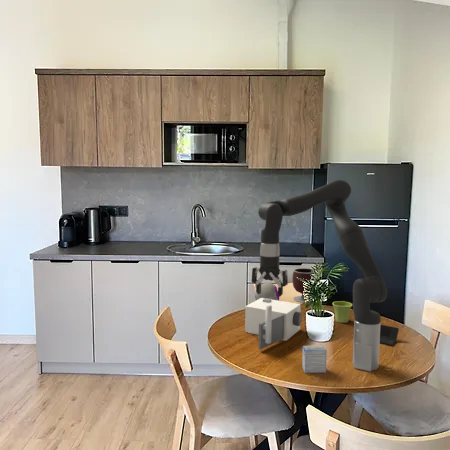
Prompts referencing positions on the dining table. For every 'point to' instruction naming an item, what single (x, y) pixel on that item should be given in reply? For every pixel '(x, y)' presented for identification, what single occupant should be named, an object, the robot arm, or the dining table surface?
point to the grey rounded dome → (268, 292)
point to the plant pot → (342, 311)
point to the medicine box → (314, 359)
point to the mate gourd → (299, 284)
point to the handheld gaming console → (388, 335)
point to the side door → (271, 329)
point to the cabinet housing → (273, 315)
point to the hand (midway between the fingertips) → (269, 294)
